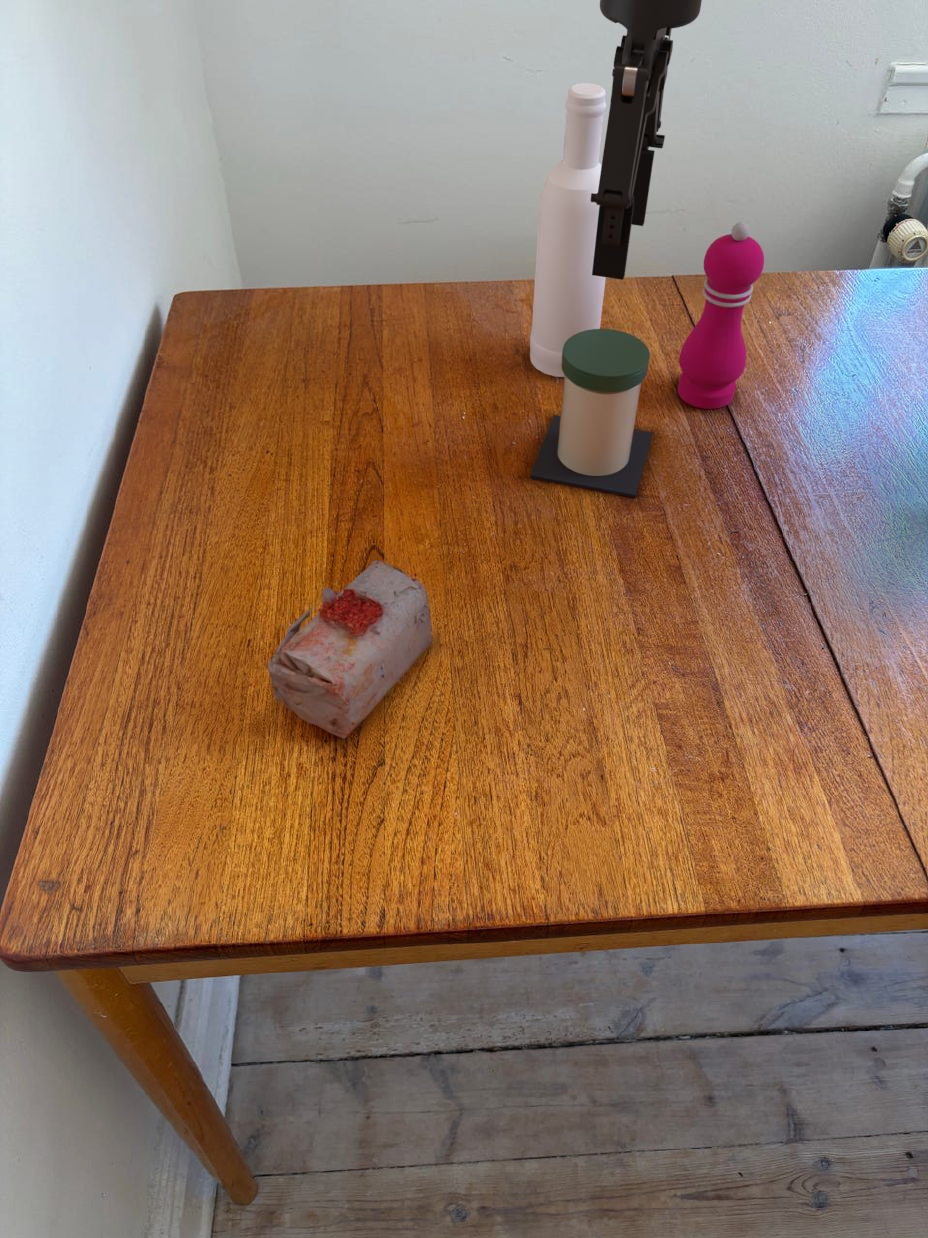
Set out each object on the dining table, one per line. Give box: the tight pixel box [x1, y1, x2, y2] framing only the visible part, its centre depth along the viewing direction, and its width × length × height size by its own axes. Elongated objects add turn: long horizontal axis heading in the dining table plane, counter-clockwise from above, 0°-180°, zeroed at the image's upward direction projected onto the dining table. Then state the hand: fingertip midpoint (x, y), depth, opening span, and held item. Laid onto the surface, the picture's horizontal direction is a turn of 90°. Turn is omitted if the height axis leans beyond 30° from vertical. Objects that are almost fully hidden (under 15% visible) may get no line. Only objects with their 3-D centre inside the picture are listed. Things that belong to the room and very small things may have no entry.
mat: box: [529, 414, 654, 499], centre depth 106 cm, size 11×11×1 cm
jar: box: [557, 375, 642, 476], centre depth 102 cm, size 8×8×12 cm
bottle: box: [529, 82, 607, 378], centre depth 108 cm, size 8×8×30 cm
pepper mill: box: [677, 221, 765, 410], centre depth 107 cm, size 7×7×20 cm
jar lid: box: [561, 328, 651, 392], centre depth 98 cm, size 8×8×2 cm
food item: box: [267, 560, 434, 740], centre depth 82 cm, size 14×8×10 cm, turn 147°
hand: (619, 247), depth 90 cm, fingers open, 10 cm apart
